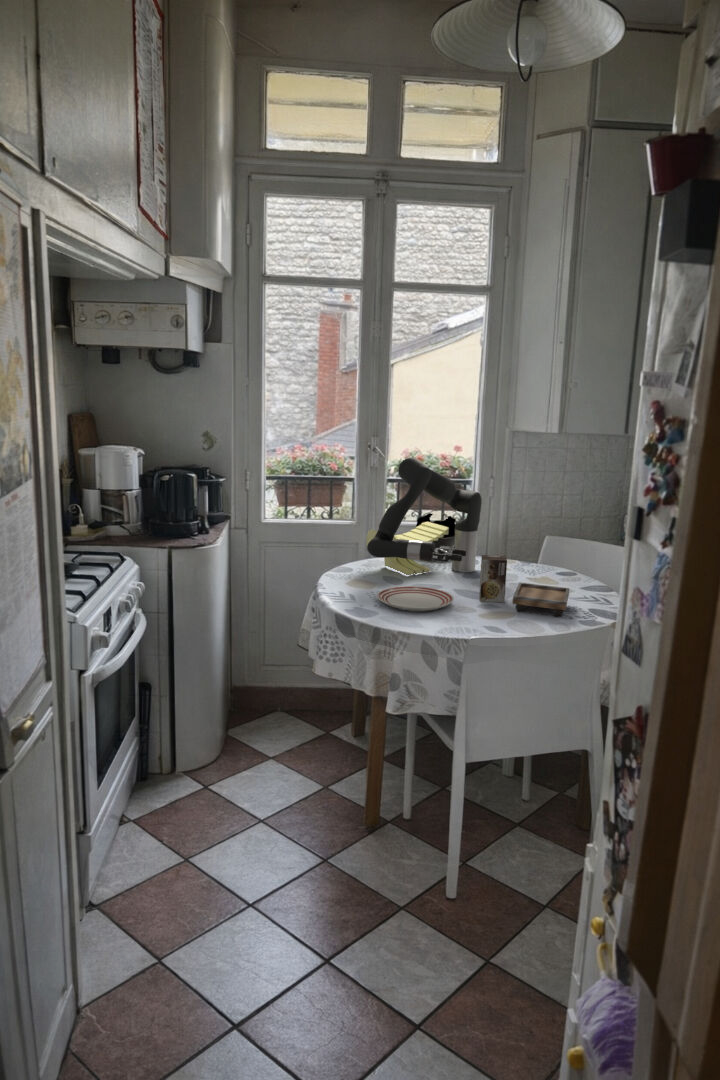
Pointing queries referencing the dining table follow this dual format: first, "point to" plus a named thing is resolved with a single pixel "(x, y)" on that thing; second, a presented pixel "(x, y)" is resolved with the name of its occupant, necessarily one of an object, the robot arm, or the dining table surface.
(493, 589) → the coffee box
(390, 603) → the dinner plate
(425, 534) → the slatted curved stool
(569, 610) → the dining table surface
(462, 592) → the dining table surface
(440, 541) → the coal bowl
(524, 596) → the caster dolly
